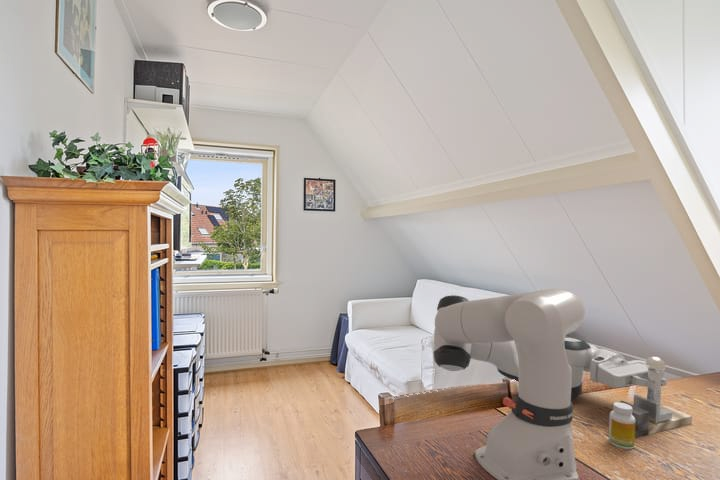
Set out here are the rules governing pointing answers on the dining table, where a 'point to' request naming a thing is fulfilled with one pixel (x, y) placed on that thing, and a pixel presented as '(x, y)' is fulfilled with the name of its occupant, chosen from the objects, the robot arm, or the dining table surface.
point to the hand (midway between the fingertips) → (659, 384)
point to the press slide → (653, 392)
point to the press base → (648, 427)
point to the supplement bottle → (622, 426)
